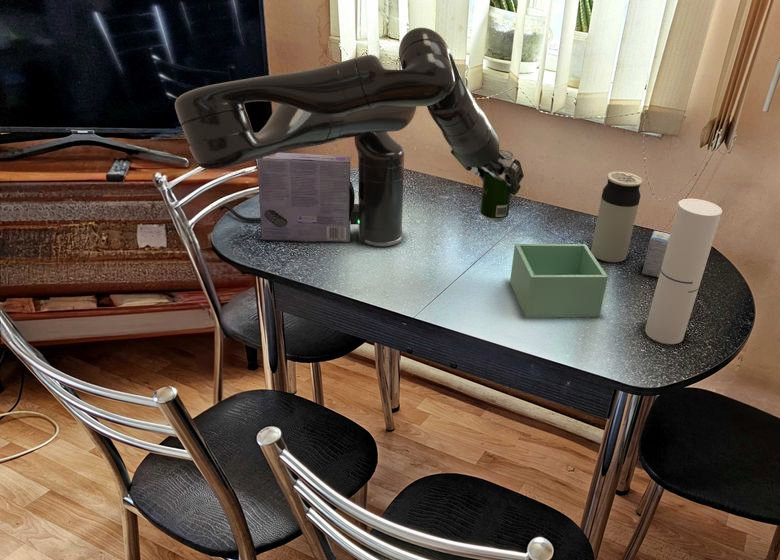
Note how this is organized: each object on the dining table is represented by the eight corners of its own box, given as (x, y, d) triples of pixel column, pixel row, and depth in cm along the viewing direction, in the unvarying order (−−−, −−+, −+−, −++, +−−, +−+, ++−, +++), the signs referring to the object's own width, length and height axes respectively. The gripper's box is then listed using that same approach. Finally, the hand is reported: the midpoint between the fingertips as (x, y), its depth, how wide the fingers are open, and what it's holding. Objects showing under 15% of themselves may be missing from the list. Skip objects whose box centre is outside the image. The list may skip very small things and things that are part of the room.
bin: (525, 318, 127) (531, 277, 122) (509, 282, 137) (514, 243, 133) (599, 316, 130) (608, 276, 125) (578, 282, 140) (585, 244, 136)
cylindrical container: (640, 322, 129) (673, 197, 115) (676, 323, 130) (713, 199, 116) (651, 343, 123) (686, 214, 109) (688, 344, 124) (728, 216, 110)
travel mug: (604, 265, 148) (621, 186, 138) (583, 249, 154) (598, 172, 144) (633, 260, 151) (651, 182, 141) (612, 245, 157) (628, 169, 147)
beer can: (513, 219, 129) (521, 156, 122) (491, 224, 126) (498, 160, 119) (495, 208, 132) (502, 147, 125) (473, 213, 129) (479, 151, 122)
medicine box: (680, 274, 148) (690, 237, 143) (678, 283, 144) (688, 245, 140) (644, 265, 150) (653, 229, 145) (641, 274, 146) (650, 237, 141)
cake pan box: (355, 233, 149) (354, 153, 140) (355, 243, 145) (354, 162, 136) (263, 231, 146) (256, 149, 136) (261, 241, 142) (253, 158, 132)
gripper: (424, 141, 115) (462, 191, 130) (493, 164, 108) (525, 215, 123) (446, 103, 115) (482, 158, 130) (516, 125, 109) (544, 180, 124)
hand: (502, 185), depth 127 cm, fingers closed on beer can, 5 cm apart
